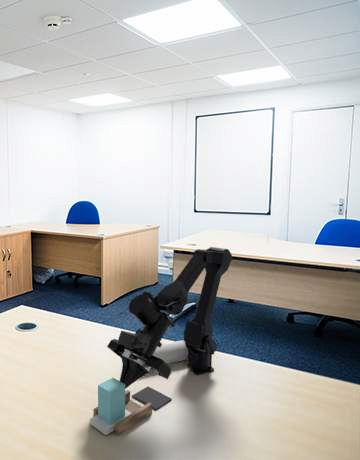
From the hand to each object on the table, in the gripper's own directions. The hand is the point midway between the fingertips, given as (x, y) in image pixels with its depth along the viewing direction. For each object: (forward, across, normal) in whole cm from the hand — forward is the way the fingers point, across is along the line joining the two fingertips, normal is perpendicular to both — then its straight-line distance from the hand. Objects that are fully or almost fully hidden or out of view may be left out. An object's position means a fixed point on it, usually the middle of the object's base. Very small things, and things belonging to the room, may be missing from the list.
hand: (119, 390), depth 85 cm
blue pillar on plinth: (+7, 0, +3) cm, 8 cm away
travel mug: (-10, -14, +16) cm, 24 cm away
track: (+4, 0, +6) cm, 7 cm away
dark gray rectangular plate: (-3, 0, +13) cm, 13 cm away
